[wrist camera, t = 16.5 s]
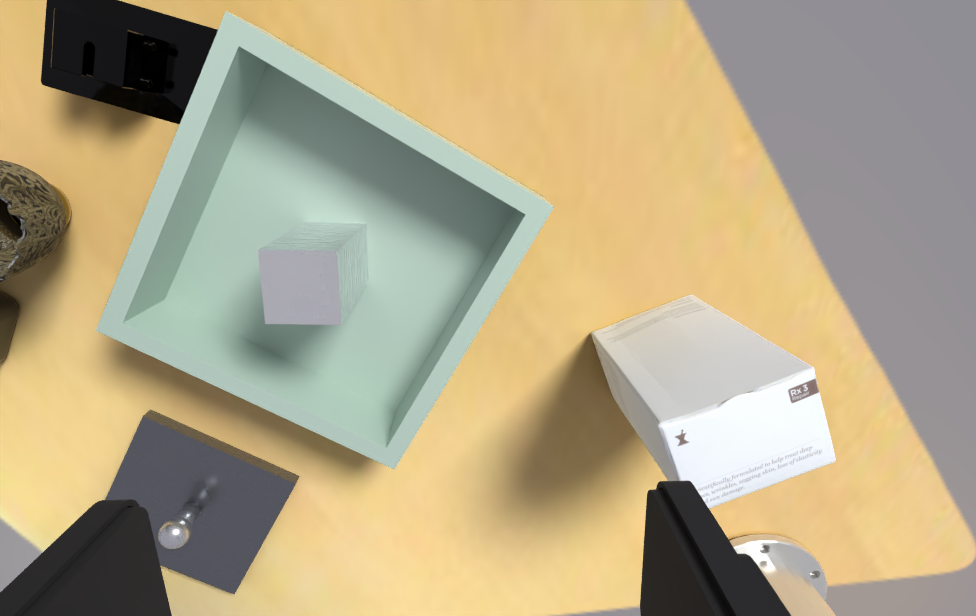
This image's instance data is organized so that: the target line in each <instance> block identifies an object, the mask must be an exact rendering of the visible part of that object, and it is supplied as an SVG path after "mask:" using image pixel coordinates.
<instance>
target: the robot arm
mask: <svg viewBox="0 0 976 616" xmlns="http://www.w3.org/2000/svg"><path fill="white" fill-rule="evenodd" d="M826 596H827V581H826V577H825V573H824V571H823V569H822V567H821V565H820V564H819V562H818V561H817V560H816V558H815V557H814V556H813V555H812V554H811V552H810V551H808V550H807V549H806V548H805V547H804V546H802V545H801V544H799V543H798V542H796V541H794V540H792V539H789V538H786V537H782V536H779V535H771V534H755V535H747V536H743V537H738V538H735V539H732V540H728V538H727V537H726V535H725V533H724V532H723V530H722V529H721V527H720V526H719V524H718V522H717V521H716V519H715V518H714V516H713V515H712V513H711V511H710V510H709V508H708V507H707V505H706V504H705V502H704V500H703V499H702V497H701V496H700V494H699V493H698V491H697V490H696V488H695V486H694V485H693V484H692V482H691V481H660V482H659V483H658V485H657V488H656V490H649V491H648V494H647V506H646V521H645V537H644V553H643V568H642V584H641V600H640V609H641V610H640V611H641V616H835V614H834V613H833V611H832V610H831V609H830V607H829V606H828V605H827V603H826V602H825V600H826ZM0 616H172V615H171V611H170V607H169V602H168V598H167V593H166V589H165V585H164V580H163V576H162V572H161V567H160V563H159V558H158V554H157V550H156V545H155V541H154V536H153V532H152V528H151V523H150V519H149V515H148V512H147V510H146V509H145V508H143V507H140V506H139V504H138V503H137V501H135V500H132V499H127V500H102V501H98V502H97V503H95V504H94V505H93V506H92V507H91V508H89V509H88V510H87V511H86V512H85V513H84V514H83V515H82V516H81V517H80V518H79V519H78V520H77V521H76V522H75V523H74V524H73V525H71V526H70V527H69V528H68V529H67V530H66V531H65V532H64V533H63V534H62V535H61V536H60V537H59V538H58V539H57V540H56V541H55V542H53V543H52V544H51V545H50V546H49V547H48V548H47V549H46V550H45V551H44V552H43V553H42V554H41V555H40V556H39V557H38V558H37V559H36V560H34V561H33V563H31V564H30V565H29V566H28V567H27V568H26V569H25V570H24V571H23V572H22V573H21V574H20V575H18V576H17V577H16V578H15V579H14V580H13V581H12V582H11V583H10V584H9V585H8V586H7V587H6V588H5V589H4V590H3V591H2V592H0Z"/></svg>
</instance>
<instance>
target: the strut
mask: <svg viewBox="0 0 976 616" xmlns="http://www.w3.org/2000/svg"><path fill="white" fill-rule="evenodd" d="M258 257H259V267H260V277H261V287H262V297H263V307H264V317H265V324H310V325H342V323H343V322H344V320H345V318H346V317H347V315H348V314H349V312H350V310H351V309H352V307H353V306H354V304H355V303H356V301H357V299H358V298H359V296H360V295H361V293H362V292H363V290H364V288H365V287H366V285H367V284H368V282H369V272H368V247H367V223H329V222H305V223H303V224H301V225H300V226H298V227H296V228H294V229H293V230H291V231H289V232H288V233H286V234H284V235H282V236H281V237H279V238H277V239H275V240H274V241H272V242H270V243H269V244H267V245H265V246H263V247H262V248H260V249H258Z"/></svg>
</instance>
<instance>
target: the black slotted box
mask: <svg viewBox="0 0 976 616" xmlns="http://www.w3.org/2000/svg"><path fill="white" fill-rule="evenodd" d="M217 32H218V30H216V29H213V28H210V27H206V26H203V25H200V24H196V23H193V22H189V21H186V20H183V19H179V18H176V17H172V16H169V15H166V14H162V13H159V12H156V11H152V10H149V9H145V8H142V7H139V6H135V5H132V4H128V3H125V2H122V1H118V0H47V7H46V20H45V34H44V48H43V61H42V75H41V83H42V84H43V85H45V86H48V87H51V88H55V89H58V90H62V91H65V92H69V93H72V94H76V95H79V96H83V97H86V98H90V99H93V100H97V101H100V102H104V103H107V104H111V105H114V106H118V107H121V108H125V109H128V110H131V111H135V112H138V113H142V114H145V115H149V116H152V117H156V118H159V119H163V120H166V121H170V122H173V123H177V124H180V123H181V120H182V118H183V115H184V113H185V110H186V108H187V105H188V103H189V100H190V98H191V95H192V93H193V91H194V88H195V86H196V83H197V81H198V78H199V76H200V73H201V71H202V68H203V66H204V64H205V61H206V59H207V56H208V54H209V51H210V49H211V46H212V44H213V41H214V39H215V36H216V34H217Z"/></svg>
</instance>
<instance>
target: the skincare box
mask: <svg viewBox="0 0 976 616" xmlns="http://www.w3.org/2000/svg"><path fill="white" fill-rule="evenodd" d="M591 335H592V339H593V342H594V345H595V347H596V350H597V353H598V356H599V359H600V362H601V365H602V368H603V370H604V373H605V376H606V379H607V382H608V385H609V387H610V390H611V393H612V396H613V398H614V400H615V401H616V403H617V404H618V406H619V407H620V409H621V410H622V412H623V414H624V415H625V416H626V418H627V419H628V421H629V422H630V424H631V425H632V427H633V428H634V430H635V431H636V433H637V434H638V436H639V437H640V439H641V440H642V442H643V443H644V445H645V446H646V448H647V449H648V451H649V452H650V454H651V455H652V457H653V458H654V460H655V461H656V463H657V464H658V466H659V467H660V469H661V470H662V472H663V474H664V475H665V477H666V478H667V479H668V481H691V482H692V484H693V485H694V486H695V488H696V490H697V491H698V493H699V494H700V496H701V497H702V499H703V500H704V502H705V504H706V505H707V507H708V508H712V507H715V506H717V505H720V504H723V503H725V502H728V501H730V500H733V499H736V498H738V497H741V496H744V495H746V494H749V493H752V492H754V491H757V490H760V489H763V488H765V487H768V486H771V485H773V484H776V483H779V482H782V481H784V480H787V479H790V478H792V477H795V476H798V475H800V474H803V473H806V472H808V471H811V470H814V469H817V468H819V467H822V466H825V465H828V464H830V463H833V462H835V461H836V458H835V454H834V449H833V445H832V441H831V437H830V433H829V429H828V425H827V421H826V417H825V413H824V409H823V405H822V401H821V397H820V393H819V390H818V385H817V381H816V376H815V371H814V368H813V367H812V366H811V365H809V364H807V363H805V362H804V361H802V360H800V359H799V358H797V357H795V356H794V355H792V354H790V353H789V352H787V351H785V350H783V349H782V348H780V347H778V346H777V345H775V344H773V343H772V342H770V341H768V340H766V339H765V338H763V337H761V336H760V335H758V334H757V333H755V332H753V331H752V330H750V329H748V328H747V327H745V326H743V325H742V324H740V323H738V322H737V321H735V320H733V319H731V318H730V317H728V316H726V315H725V314H723V313H722V312H720V311H718V310H716V309H715V308H713V307H711V306H710V305H708V304H706V303H705V302H703V301H701V300H700V299H698V298H696V297H695V296H693V295H692V294H690V295H687V296H685V297H682V298H679V299H677V300H674V301H671V302H669V303H666V304H663V305H661V306H658V307H655V308H653V309H650V310H648V311H645V312H642V313H640V314H637V315H635V316H632V317H630V318H627V319H624V320H622V321H620V322H617V323H615V324H613V325H610V326H608V327H605V328H602V329H599V330H597V331H594V332H592V333H591Z"/></svg>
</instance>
